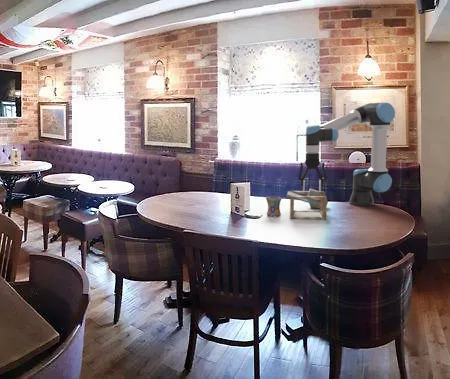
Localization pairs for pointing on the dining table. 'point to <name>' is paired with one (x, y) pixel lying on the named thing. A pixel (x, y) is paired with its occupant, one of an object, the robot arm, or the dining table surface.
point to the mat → (307, 214)
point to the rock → (317, 203)
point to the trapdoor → (300, 199)
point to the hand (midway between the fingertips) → (311, 191)
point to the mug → (273, 206)
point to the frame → (323, 210)
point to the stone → (313, 194)
